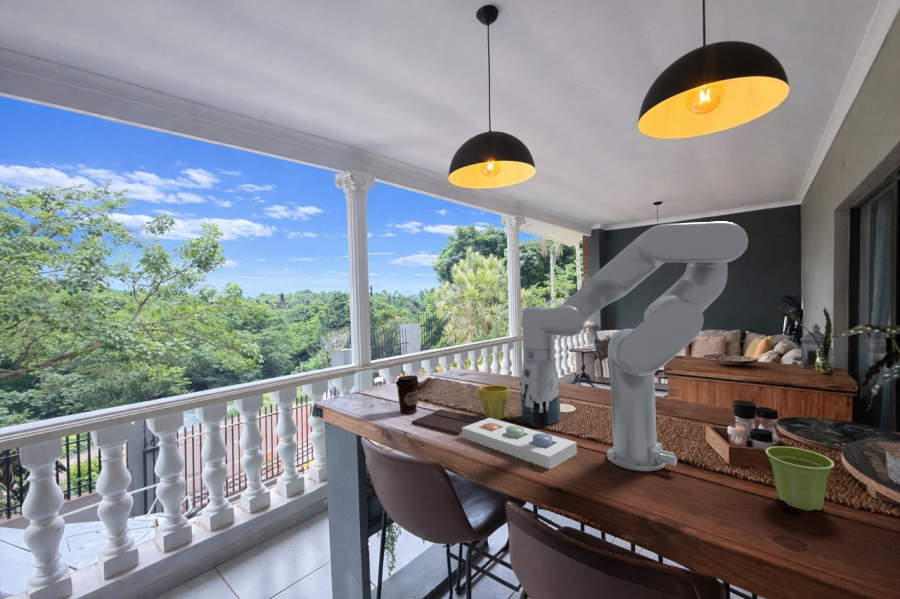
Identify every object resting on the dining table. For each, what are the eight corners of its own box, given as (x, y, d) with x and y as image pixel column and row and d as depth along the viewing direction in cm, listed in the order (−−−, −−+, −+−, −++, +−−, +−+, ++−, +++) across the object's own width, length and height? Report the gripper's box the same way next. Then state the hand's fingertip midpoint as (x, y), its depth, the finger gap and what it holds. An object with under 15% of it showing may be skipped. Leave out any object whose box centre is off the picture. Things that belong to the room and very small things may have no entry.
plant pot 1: (500, 410, 135) (499, 383, 135) (516, 418, 126) (514, 389, 126) (474, 414, 131) (473, 387, 131) (489, 423, 122) (487, 393, 122)
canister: (513, 416, 127) (510, 365, 127) (543, 410, 132) (541, 360, 132) (537, 428, 115) (534, 371, 115) (569, 420, 121) (567, 366, 121)
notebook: (458, 437, 112) (457, 431, 112) (411, 425, 124) (411, 419, 124) (486, 423, 123) (486, 417, 123) (441, 414, 136) (441, 408, 136)
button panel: (576, 453, 95) (576, 442, 95) (549, 469, 87) (549, 456, 87) (490, 427, 118) (489, 417, 118) (462, 437, 110) (461, 427, 110)
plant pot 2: (833, 500, 70) (831, 453, 70) (839, 524, 63) (836, 472, 63) (768, 485, 76) (766, 442, 76) (766, 505, 69) (764, 458, 69)
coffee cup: (425, 410, 139) (423, 375, 139) (411, 417, 132) (409, 380, 132) (406, 408, 143) (405, 374, 143) (392, 414, 136) (390, 378, 136)
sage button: (527, 439, 102) (527, 428, 102) (516, 444, 99) (516, 433, 99) (514, 435, 106) (513, 424, 106) (502, 440, 103) (502, 429, 103)
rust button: (502, 435, 109) (502, 425, 109) (491, 440, 106) (491, 430, 106) (490, 432, 113) (490, 422, 113) (479, 436, 110) (479, 426, 110)
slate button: (556, 448, 96) (555, 436, 96) (545, 454, 93) (544, 442, 93) (540, 443, 99) (540, 432, 99) (529, 448, 96) (529, 437, 96)
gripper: (532, 360, 88) (535, 438, 88) (567, 352, 98) (569, 422, 98) (508, 357, 94) (510, 430, 94) (543, 350, 104) (545, 416, 104)
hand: (540, 426), depth 96 cm, fingers closed
